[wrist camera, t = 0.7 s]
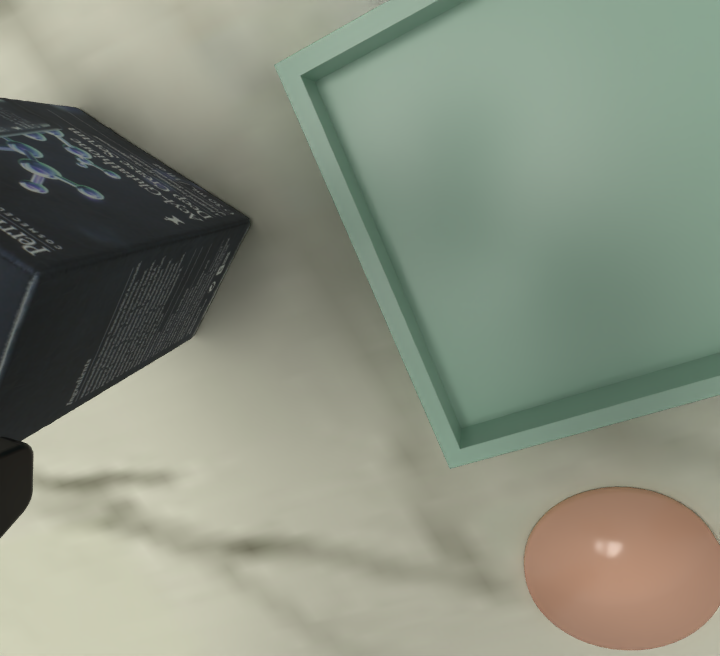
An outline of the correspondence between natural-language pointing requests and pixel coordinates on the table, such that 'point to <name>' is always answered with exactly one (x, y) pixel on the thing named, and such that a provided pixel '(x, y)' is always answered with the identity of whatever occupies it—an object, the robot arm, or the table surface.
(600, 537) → the pink dome
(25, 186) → the box
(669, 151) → the tray
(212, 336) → the table surface
